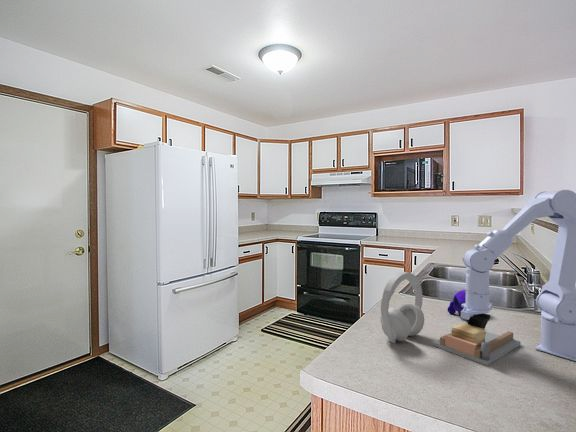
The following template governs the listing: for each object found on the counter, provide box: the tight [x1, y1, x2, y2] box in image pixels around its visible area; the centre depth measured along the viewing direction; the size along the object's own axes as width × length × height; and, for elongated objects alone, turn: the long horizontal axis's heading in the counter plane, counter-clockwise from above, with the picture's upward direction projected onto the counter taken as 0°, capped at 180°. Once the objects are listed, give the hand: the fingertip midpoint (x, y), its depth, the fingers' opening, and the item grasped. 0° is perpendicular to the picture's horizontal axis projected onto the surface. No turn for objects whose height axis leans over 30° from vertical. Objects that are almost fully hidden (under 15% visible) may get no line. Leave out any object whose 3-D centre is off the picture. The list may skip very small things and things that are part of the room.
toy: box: [447, 289, 466, 315], centre depth 117 cm, size 9×10×15 cm
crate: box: [450, 322, 486, 348], centre depth 88 cm, size 6×6×5 cm
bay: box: [433, 330, 521, 367], centre depth 91 cm, size 14×21×5 cm, turn 125°
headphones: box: [379, 271, 425, 344], centre depth 96 cm, size 19×8×20 cm, turn 127°
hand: (476, 339), depth 90 cm, fingers closed
